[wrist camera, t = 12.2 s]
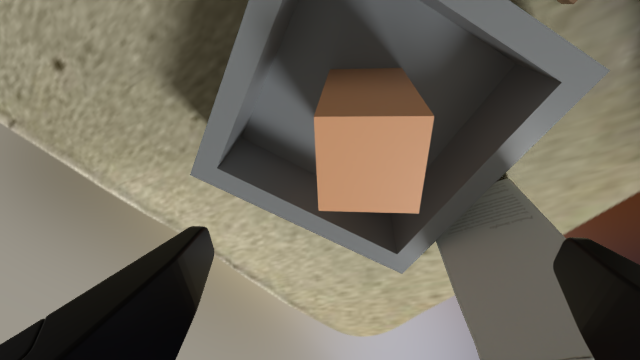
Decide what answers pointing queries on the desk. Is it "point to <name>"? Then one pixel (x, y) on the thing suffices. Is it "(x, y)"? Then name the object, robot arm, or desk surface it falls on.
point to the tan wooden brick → (371, 142)
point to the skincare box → (510, 279)
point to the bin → (427, 77)
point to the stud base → (567, 1)
